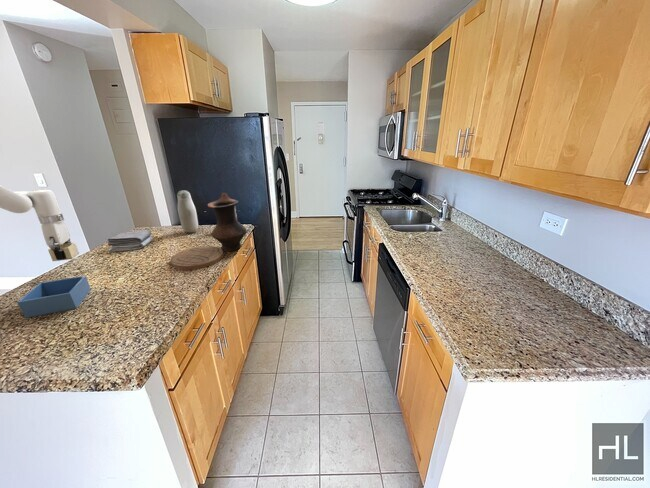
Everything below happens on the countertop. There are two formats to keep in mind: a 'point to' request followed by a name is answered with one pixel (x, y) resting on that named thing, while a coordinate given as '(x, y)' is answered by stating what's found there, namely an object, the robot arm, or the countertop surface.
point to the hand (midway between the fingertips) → (65, 255)
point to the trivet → (196, 257)
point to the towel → (129, 241)
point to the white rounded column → (187, 212)
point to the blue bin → (54, 296)
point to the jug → (227, 223)
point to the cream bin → (66, 251)
